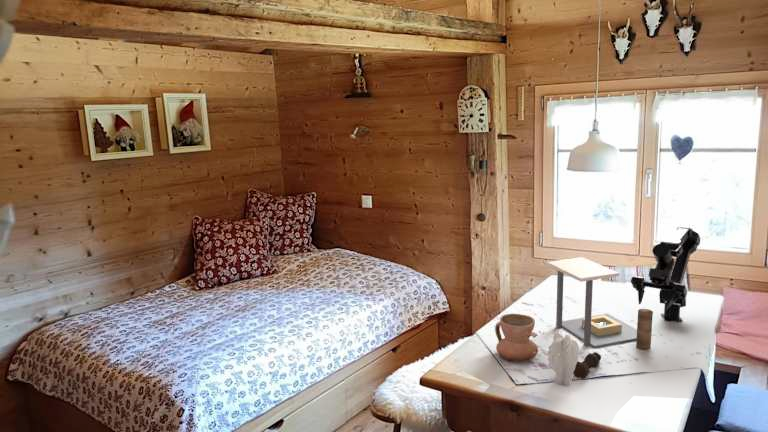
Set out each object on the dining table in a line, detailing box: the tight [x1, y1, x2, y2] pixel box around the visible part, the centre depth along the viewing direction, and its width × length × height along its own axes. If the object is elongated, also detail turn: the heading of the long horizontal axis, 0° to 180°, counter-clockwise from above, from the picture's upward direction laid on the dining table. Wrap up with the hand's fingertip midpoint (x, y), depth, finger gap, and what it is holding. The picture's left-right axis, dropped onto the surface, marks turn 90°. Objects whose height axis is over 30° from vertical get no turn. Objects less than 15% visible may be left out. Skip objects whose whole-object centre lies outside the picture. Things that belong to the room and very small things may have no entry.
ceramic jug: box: [494, 313, 539, 363], centre depth 206 cm, size 18×14×14 cm
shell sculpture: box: [547, 330, 580, 386], centre depth 186 cm, size 8×8×18 cm
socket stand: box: [546, 256, 637, 349], centre depth 222 cm, size 30×24×27 cm
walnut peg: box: [635, 308, 654, 351], centre depth 209 cm, size 5×5×14 cm
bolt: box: [573, 352, 602, 380], centre depth 196 cm, size 6×5×15 cm
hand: (652, 306), depth 213 cm, fingers open, 9 cm apart
